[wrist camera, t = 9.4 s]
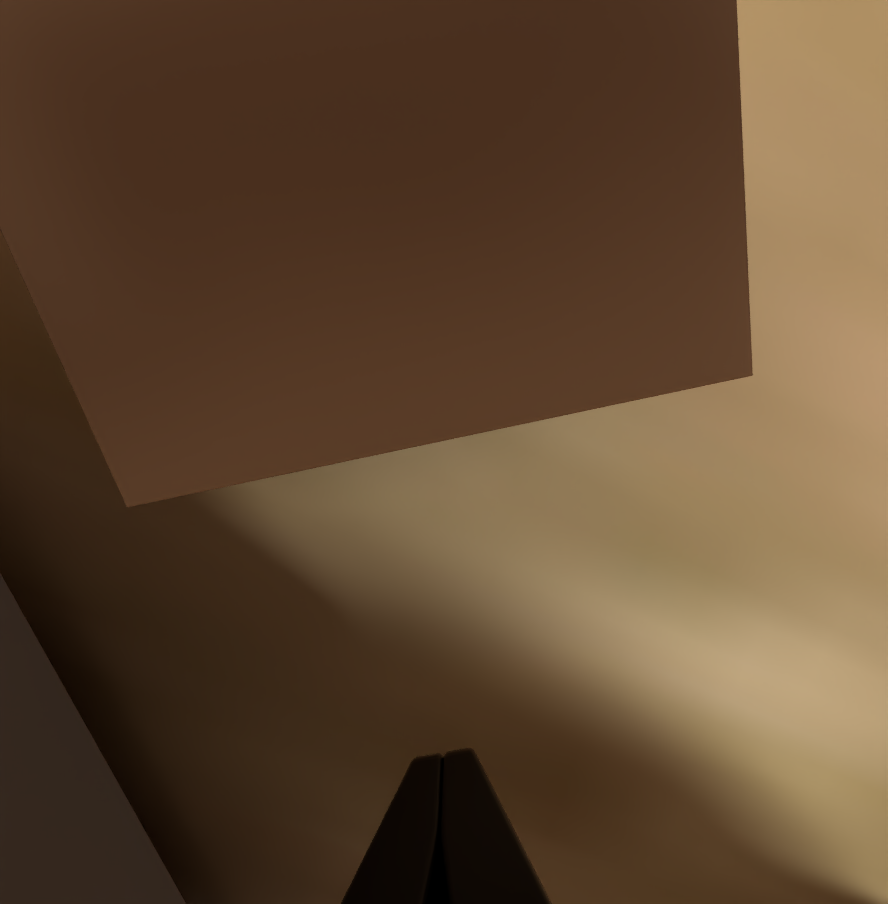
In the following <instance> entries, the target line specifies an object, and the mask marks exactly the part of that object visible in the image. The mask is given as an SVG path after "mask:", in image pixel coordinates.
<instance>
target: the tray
mask: <svg viewBox="0 0 888 904" xmlns="http://www.w3.org/2000/svg"><path fill="white" fill-rule="evenodd" d="M0 904H186V903H185V901H184V899H183V897H182V896H181V894H180V892H179V890H178V889H177V887H176V885H175V883H174V881H173V880H172V878H171V876H170V874H169V873H168V871H167V869H166V867H165V865H164V864H163V862H162V860H161V858H160V857H159V855H158V853H157V851H156V849H155V848H154V846H153V844H152V842H151V841H150V839H149V837H148V835H147V833H146V832H145V830H144V828H143V826H142V825H141V823H140V821H139V819H138V817H137V816H136V814H135V812H134V810H133V809H132V807H131V805H130V803H129V801H128V800H127V798H126V796H125V794H124V793H123V791H122V789H121V787H120V785H119V784H118V782H117V780H116V778H115V777H114V775H113V773H112V771H111V769H110V768H109V766H108V764H107V762H106V760H105V759H104V757H103V755H102V753H101V752H100V750H99V748H98V746H97V744H96V743H95V741H94V739H93V737H92V736H91V734H90V732H89V730H88V728H87V727H86V725H85V723H84V721H83V720H82V718H81V716H80V714H79V712H78V711H77V709H76V707H75V705H74V704H73V702H72V700H71V698H70V696H69V695H68V693H67V691H66V689H65V688H64V686H63V684H62V682H61V680H60V679H59V677H58V675H57V673H56V672H55V670H54V668H53V666H52V664H51V663H50V661H49V659H48V657H47V656H46V654H45V652H44V650H43V648H42V647H41V645H40V643H39V641H38V640H37V638H36V636H35V634H34V632H33V631H32V629H31V627H30V625H29V624H28V622H27V620H26V618H25V616H24V615H23V613H22V611H21V609H20V607H19V606H18V604H17V602H16V600H15V599H14V597H13V595H12V593H11V591H10V590H9V588H8V586H7V584H6V583H5V581H4V579H3V577H2V575H1V574H0Z"/></svg>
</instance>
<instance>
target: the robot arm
mask: <svg viewBox="0 0 888 904" xmlns="http://www.w3.org/2000/svg"><path fill="white" fill-rule="evenodd" d="M341 904H551V902H550V900H549V898H548V896H547V894H546V892H545V890H544V888H543V886H542V884H541V882H540V880H539V878H538V876H537V874H536V872H535V870H534V868H533V866H532V864H531V862H530V860H529V858H528V856H527V854H526V852H525V850H524V848H523V846H522V844H521V842H520V840H519V838H518V836H517V834H516V832H515V830H514V828H513V826H512V824H511V822H510V820H509V818H508V816H507V814H506V812H505V811H504V809H503V807H502V805H501V803H500V801H499V799H498V797H497V795H496V793H495V791H494V789H493V787H492V785H491V783H490V781H489V779H488V777H487V775H486V773H485V771H484V769H483V767H482V765H481V763H480V761H479V759H478V757H477V755H476V753H475V751H474V750H473V749H472V748H465V749H459V750H453V751H448V752H446V753H445V755H444V756H443V755H442V754H439V753H436V754H431V755H425V756H419V757H416V758H414V759H413V760H412V762H411V764H410V766H409V768H408V770H407V772H406V774H405V776H404V778H403V780H402V782H401V784H400V786H399V788H398V790H397V792H396V794H395V796H394V798H393V800H392V802H391V804H390V806H389V808H388V810H387V812H386V814H385V816H384V818H383V820H382V822H381V824H380V826H379V828H378V830H377V832H376V834H375V836H374V838H373V840H372V842H371V844H370V846H369V848H368V850H367V852H366V854H365V856H364V858H363V860H362V862H361V864H360V866H359V868H358V870H357V872H356V874H355V876H354V878H353V880H352V882H351V884H350V886H349V888H348V890H347V892H346V894H345V896H344V898H343V900H342V902H341Z"/></svg>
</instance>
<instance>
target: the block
mask: <svg viewBox="0 0 888 904" xmlns="http://www.w3.org/2000/svg"><path fill="white" fill-rule="evenodd" d="M0 229H1V232H2V234H3V236H4V238H5V240H6V243H7V245H8V247H9V249H10V251H11V254H12V256H13V258H14V260H15V262H16V265H17V267H18V269H19V271H20V273H21V276H22V278H23V280H24V282H25V284H26V287H27V289H28V291H29V293H30V295H31V298H32V300H33V302H34V304H35V306H36V308H37V311H38V313H39V315H40V317H41V319H42V322H43V324H44V326H45V328H46V330H47V333H48V335H49V337H50V339H51V341H52V344H53V346H54V348H55V350H56V352H57V355H58V357H59V359H60V361H61V363H62V366H63V368H64V370H65V372H66V374H67V377H68V379H69V381H70V383H71V385H72V388H73V390H74V392H75V394H76V396H77V399H78V401H79V403H80V405H81V407H82V410H83V412H84V414H85V416H86V418H87V421H88V423H89V425H90V427H91V429H92V432H93V434H94V436H95V438H96V440H97V443H98V445H99V447H100V449H101V451H102V454H103V456H104V458H105V460H106V462H107V464H108V467H109V469H110V471H111V473H112V475H113V478H114V480H115V482H116V484H117V486H118V489H119V491H120V493H121V495H122V497H123V500H124V502H125V504H126V506H127V507H131V506H136V505H141V504H146V503H150V502H155V501H160V500H165V499H169V498H174V497H179V496H184V495H188V494H193V493H198V492H203V491H207V490H212V489H217V488H221V487H226V486H231V485H236V484H240V483H245V482H250V481H255V480H259V479H264V478H269V477H274V476H278V475H283V474H288V473H293V472H297V471H302V470H307V469H312V468H316V467H321V466H326V465H331V464H335V463H340V462H345V461H349V460H354V459H359V458H364V457H368V456H373V455H378V454H383V453H387V452H392V451H397V450H402V449H406V448H411V447H416V446H421V445H425V444H430V443H435V442H440V441H444V440H449V439H454V438H459V437H463V436H468V435H473V434H477V433H482V432H487V431H492V430H496V429H501V428H506V427H511V426H515V425H520V424H525V423H530V422H534V421H539V420H544V419H549V418H553V417H558V416H563V415H568V414H572V413H577V412H582V411H587V410H591V409H596V408H601V407H606V406H610V405H615V404H620V403H624V402H629V401H634V400H639V399H643V398H648V397H653V396H658V395H662V394H667V393H672V392H677V391H681V390H686V389H691V388H696V387H700V386H705V385H710V384H715V383H719V382H724V381H729V380H734V379H738V378H743V377H748V376H752V375H753V374H752V351H751V328H750V304H749V281H748V258H747V234H746V211H745V188H744V165H743V141H742V118H741V95H740V71H739V48H738V25H737V1H736V0H0Z"/></svg>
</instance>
